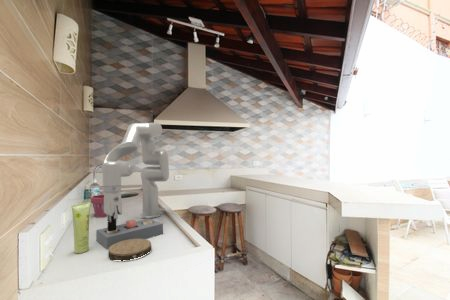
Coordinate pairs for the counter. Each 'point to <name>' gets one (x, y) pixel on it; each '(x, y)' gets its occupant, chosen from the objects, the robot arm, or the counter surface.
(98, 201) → the plant pot
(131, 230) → the knob panel
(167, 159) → the robot arm
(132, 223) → the knob red
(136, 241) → the wood log slice
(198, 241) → the counter surface
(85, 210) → the tube
